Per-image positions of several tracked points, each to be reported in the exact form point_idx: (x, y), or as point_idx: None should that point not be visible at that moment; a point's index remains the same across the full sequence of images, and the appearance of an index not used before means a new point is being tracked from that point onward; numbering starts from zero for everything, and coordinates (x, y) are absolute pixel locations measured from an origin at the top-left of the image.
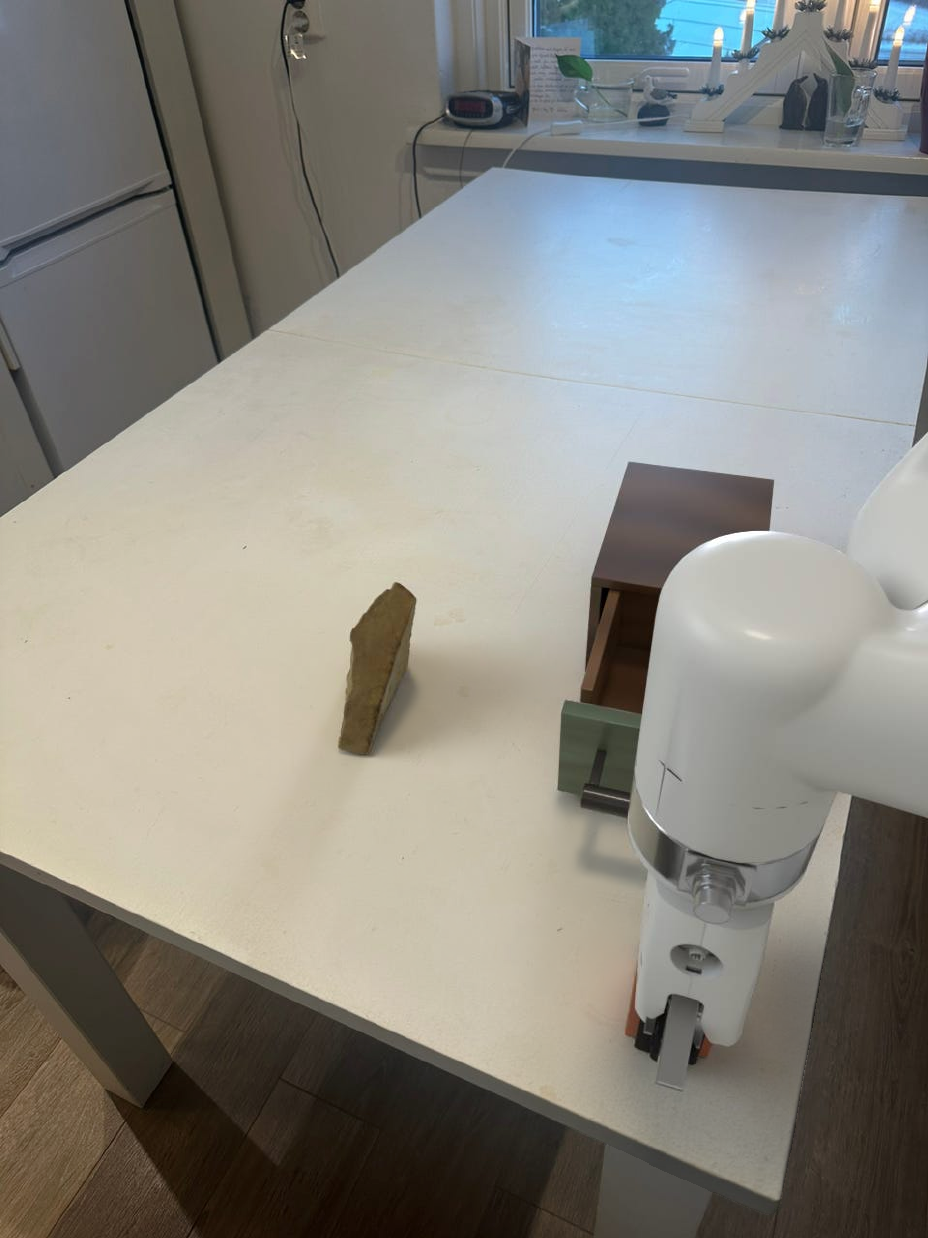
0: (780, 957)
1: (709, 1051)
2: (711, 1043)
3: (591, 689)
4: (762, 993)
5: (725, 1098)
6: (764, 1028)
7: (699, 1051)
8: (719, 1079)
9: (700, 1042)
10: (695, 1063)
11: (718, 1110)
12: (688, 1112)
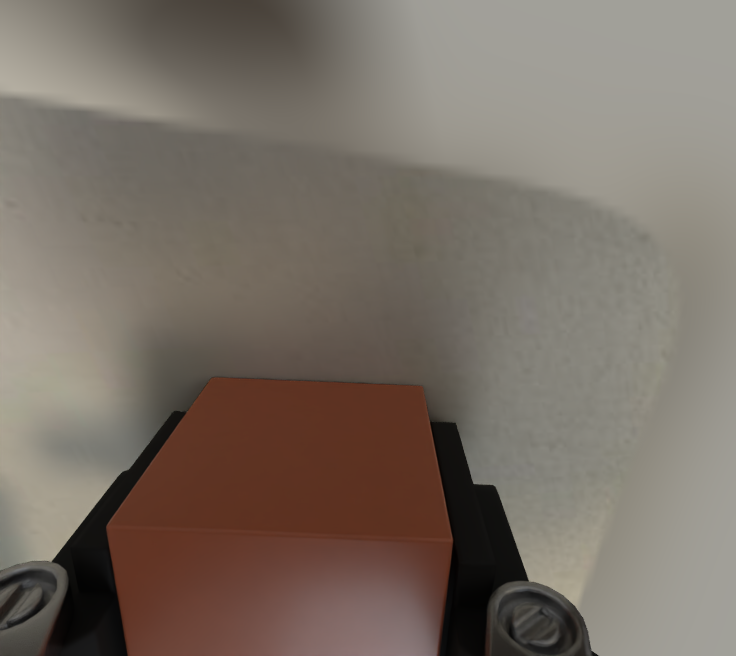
0: (67, 201)
1: (424, 403)
2: (430, 434)
3: None
4: (201, 252)
5: (511, 337)
6: (303, 245)
7: (469, 472)
8: (467, 353)
9: (587, 651)
10: (456, 426)
11: (543, 352)
12: (557, 416)
